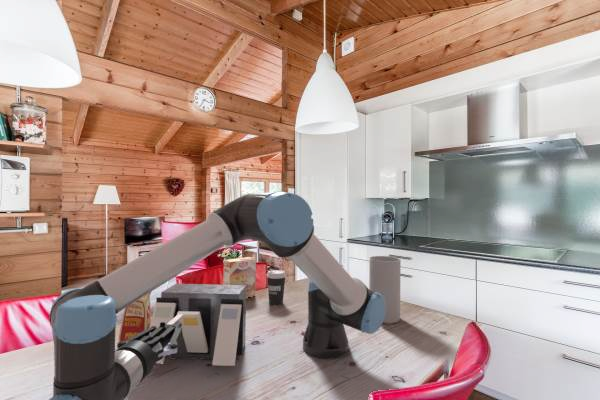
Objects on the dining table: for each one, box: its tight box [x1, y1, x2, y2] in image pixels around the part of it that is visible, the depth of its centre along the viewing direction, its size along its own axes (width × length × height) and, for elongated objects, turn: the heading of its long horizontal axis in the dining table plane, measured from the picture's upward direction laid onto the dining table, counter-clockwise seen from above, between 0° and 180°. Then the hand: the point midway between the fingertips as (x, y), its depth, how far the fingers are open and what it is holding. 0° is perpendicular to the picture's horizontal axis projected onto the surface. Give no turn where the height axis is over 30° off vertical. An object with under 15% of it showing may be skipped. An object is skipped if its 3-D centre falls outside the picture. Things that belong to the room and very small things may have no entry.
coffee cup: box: [266, 269, 287, 306], centre depth 143 cm, size 10×10×15 cm
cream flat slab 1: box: [177, 311, 208, 353], centre depth 87 cm, size 1×6×16 cm, turn 87°
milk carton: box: [117, 291, 153, 343], centre depth 99 cm, size 9×9×20 cm
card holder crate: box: [155, 283, 247, 362], centre depth 96 cm, size 10×27×20 cm, turn 88°
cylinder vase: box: [368, 255, 402, 325], centre depth 126 cm, size 12×12×25 cm
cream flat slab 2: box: [211, 304, 242, 367], centre depth 86 cm, size 1×6×16 cm, turn 89°
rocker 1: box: [149, 302, 176, 364], centre depth 87 cm, size 1×6×16 cm, turn 88°
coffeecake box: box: [222, 256, 257, 299], centre depth 151 cm, size 15×7×20 cm, turn 131°
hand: (180, 319), depth 79 cm, fingers closed
